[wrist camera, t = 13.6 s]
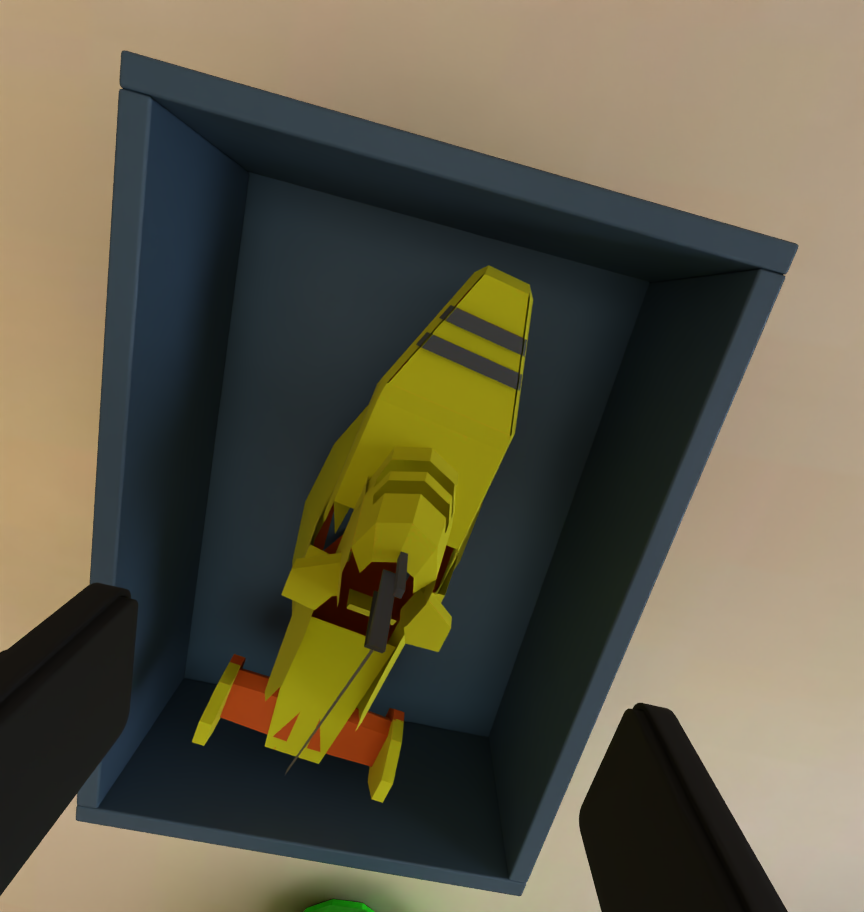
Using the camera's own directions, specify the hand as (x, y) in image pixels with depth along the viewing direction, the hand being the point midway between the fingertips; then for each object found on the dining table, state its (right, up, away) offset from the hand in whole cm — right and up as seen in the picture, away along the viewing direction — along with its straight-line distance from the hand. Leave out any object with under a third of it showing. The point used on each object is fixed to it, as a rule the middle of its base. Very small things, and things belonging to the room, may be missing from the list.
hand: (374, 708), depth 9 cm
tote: (-1, +3, +11) cm, 11 cm away
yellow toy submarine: (-1, +3, +10) cm, 11 cm away
